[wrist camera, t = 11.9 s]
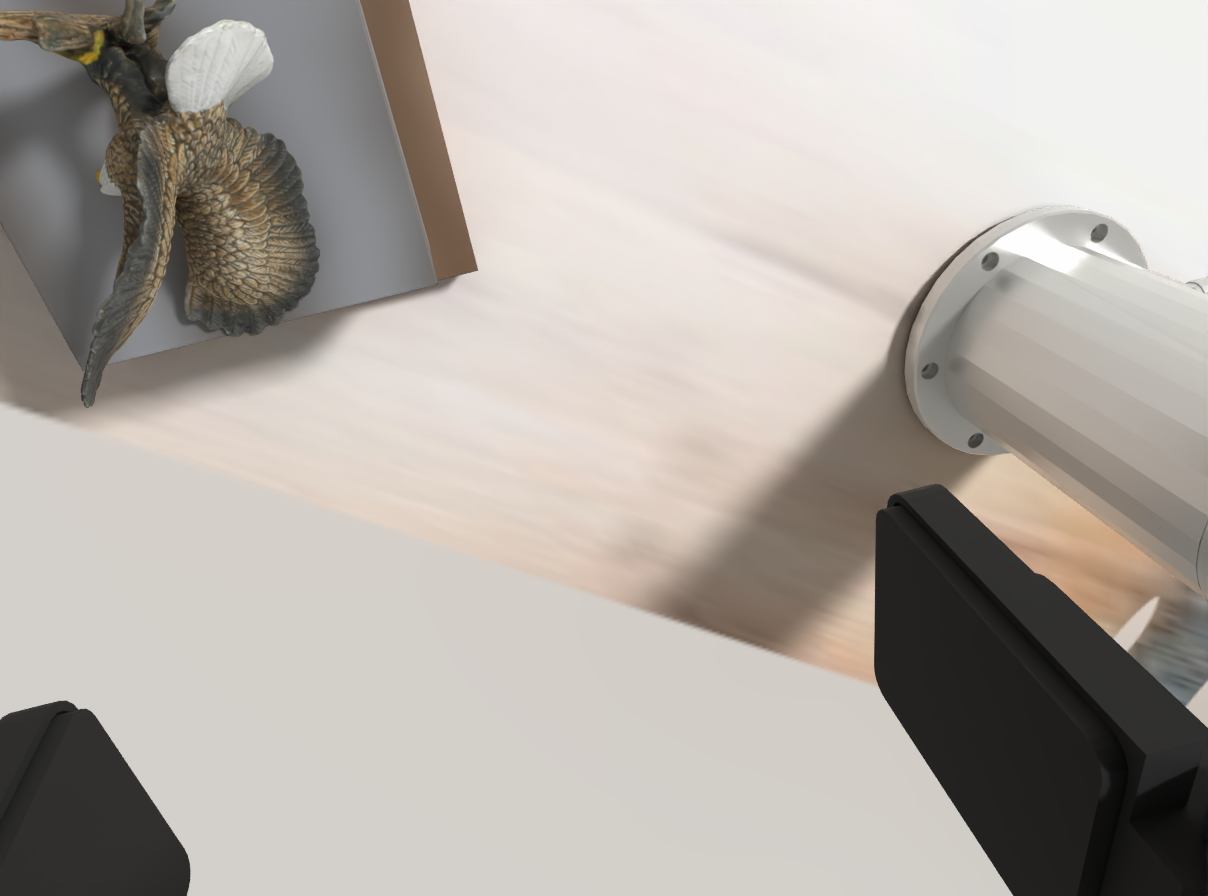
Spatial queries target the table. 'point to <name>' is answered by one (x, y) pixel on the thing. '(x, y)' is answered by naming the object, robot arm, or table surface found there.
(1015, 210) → the table surface
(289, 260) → the eagle figurine
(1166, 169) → the table surface
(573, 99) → the table surface
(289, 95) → the pedestal
